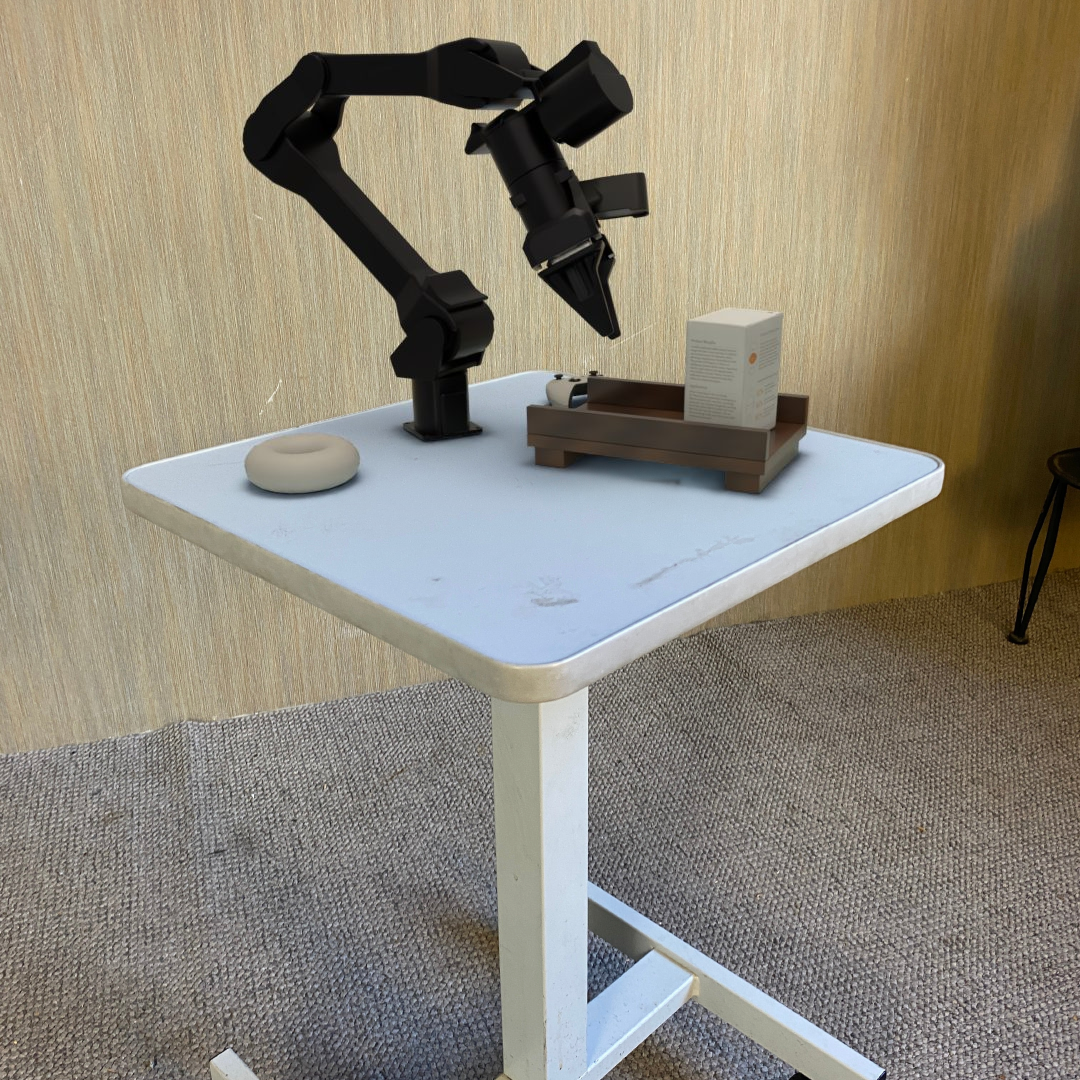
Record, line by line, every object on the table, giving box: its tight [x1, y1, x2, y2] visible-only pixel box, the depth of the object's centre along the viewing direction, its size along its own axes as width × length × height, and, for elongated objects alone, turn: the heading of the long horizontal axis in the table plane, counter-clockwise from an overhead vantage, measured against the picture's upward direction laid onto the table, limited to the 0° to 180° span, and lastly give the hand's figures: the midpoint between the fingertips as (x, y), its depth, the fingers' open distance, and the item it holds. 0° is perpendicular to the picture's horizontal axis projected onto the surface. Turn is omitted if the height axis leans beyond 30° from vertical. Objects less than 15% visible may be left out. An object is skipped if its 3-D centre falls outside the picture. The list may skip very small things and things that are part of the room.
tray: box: [525, 376, 810, 495], centre depth 96 cm, size 22×14×6 cm, turn 63°
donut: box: [243, 432, 361, 494], centre depth 92 cm, size 10×4×10 cm
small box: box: [684, 306, 784, 430], centre depth 91 cm, size 8×6×10 cm
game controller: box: [545, 370, 606, 409], centre depth 117 cm, size 10×5×6 cm
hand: (612, 336), depth 94 cm, fingers open, 9 cm apart
